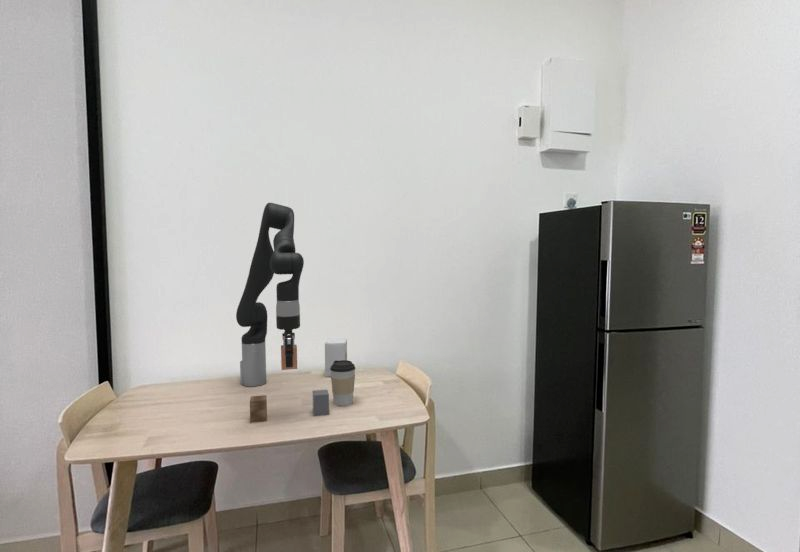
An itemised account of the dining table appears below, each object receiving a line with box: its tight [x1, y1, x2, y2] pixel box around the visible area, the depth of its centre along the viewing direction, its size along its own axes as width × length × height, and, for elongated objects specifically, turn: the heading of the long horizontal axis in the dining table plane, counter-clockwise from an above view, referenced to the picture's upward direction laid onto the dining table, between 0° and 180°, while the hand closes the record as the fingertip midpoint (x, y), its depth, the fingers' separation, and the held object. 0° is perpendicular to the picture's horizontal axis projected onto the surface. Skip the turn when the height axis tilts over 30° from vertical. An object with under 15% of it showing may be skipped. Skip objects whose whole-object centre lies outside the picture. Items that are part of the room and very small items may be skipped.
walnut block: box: [249, 394, 268, 424], centre depth 141 cm, size 5×5×7 cm
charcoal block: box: [312, 389, 330, 417], centre depth 146 cm, size 5×5×7 cm
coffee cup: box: [330, 359, 356, 407], centre depth 155 cm, size 9×9×15 cm
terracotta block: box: [280, 343, 298, 371], centre depth 143 cm, size 5×5×7 cm
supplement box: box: [324, 338, 348, 378], centre depth 190 cm, size 9×9×15 cm
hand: (289, 364), depth 143 cm, fingers closed on terracotta block, 5 cm apart
